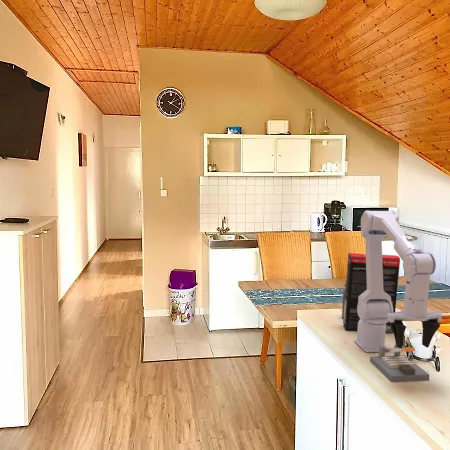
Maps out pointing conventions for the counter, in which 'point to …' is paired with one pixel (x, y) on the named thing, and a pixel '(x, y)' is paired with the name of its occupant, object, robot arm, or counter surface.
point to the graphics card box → (358, 285)
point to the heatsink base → (398, 367)
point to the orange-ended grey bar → (399, 349)
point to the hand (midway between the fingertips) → (412, 346)
